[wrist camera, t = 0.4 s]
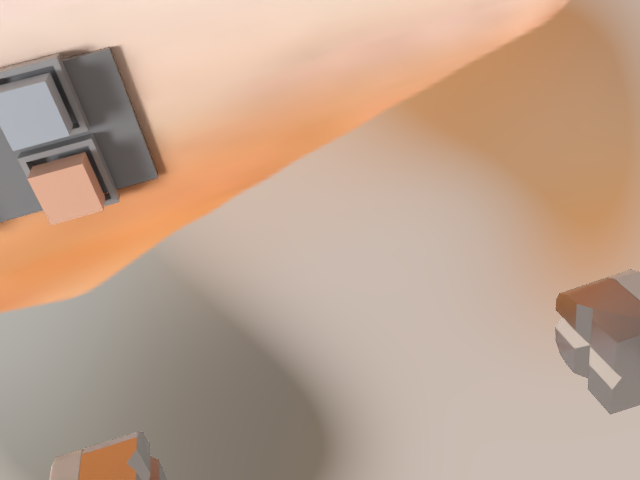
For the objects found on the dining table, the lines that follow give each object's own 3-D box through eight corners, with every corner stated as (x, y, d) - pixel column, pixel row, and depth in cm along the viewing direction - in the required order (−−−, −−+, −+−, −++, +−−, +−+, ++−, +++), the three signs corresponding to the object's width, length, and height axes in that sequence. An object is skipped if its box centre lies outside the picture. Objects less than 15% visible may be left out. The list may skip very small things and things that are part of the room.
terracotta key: (32, 166, 51) (27, 178, 49) (85, 151, 52) (82, 163, 49) (54, 211, 53) (51, 225, 51) (105, 197, 54) (103, 210, 52)
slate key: (-8, 87, 47) (-15, 96, 45) (49, 72, 48) (45, 81, 46) (18, 139, 50) (12, 151, 48) (73, 124, 50) (69, 135, 48)
